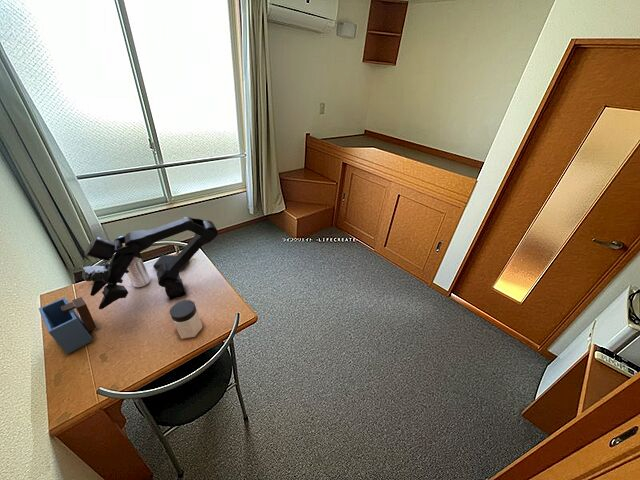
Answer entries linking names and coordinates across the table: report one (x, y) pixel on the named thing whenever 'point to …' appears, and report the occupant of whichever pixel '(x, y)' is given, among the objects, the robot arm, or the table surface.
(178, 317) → the jar
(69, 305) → the hook tag
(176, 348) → the table surface
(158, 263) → the carrying case
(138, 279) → the water bottle
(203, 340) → the table surface
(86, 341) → the storage box
